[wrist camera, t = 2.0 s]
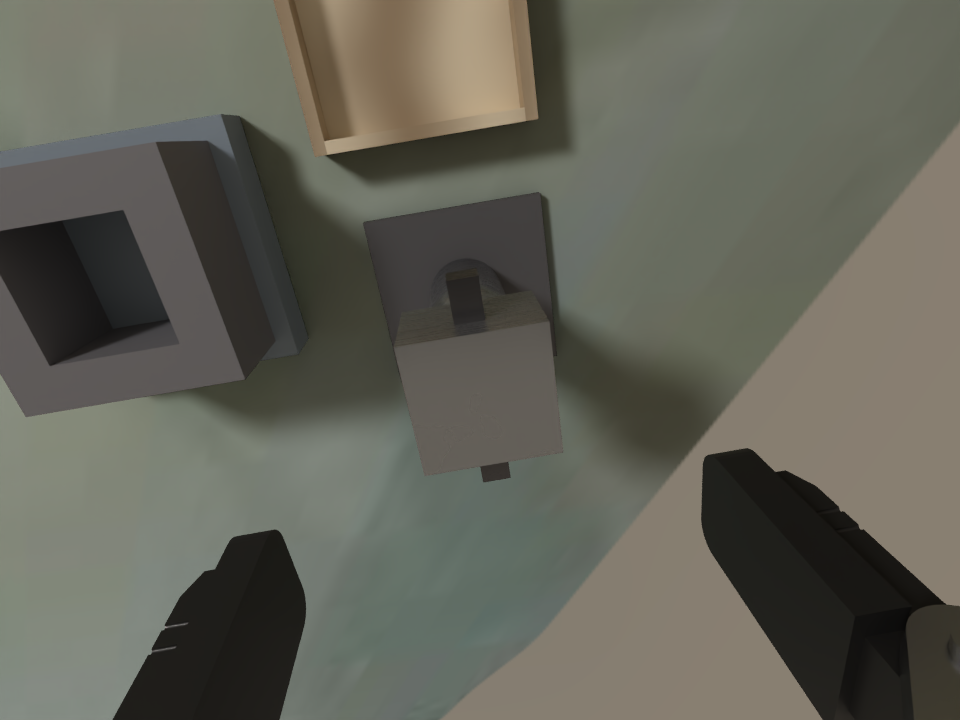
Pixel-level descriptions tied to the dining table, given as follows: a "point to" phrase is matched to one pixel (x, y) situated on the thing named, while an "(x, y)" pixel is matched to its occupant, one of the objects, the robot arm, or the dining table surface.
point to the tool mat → (460, 252)
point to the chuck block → (138, 266)
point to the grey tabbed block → (478, 374)
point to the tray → (407, 68)
